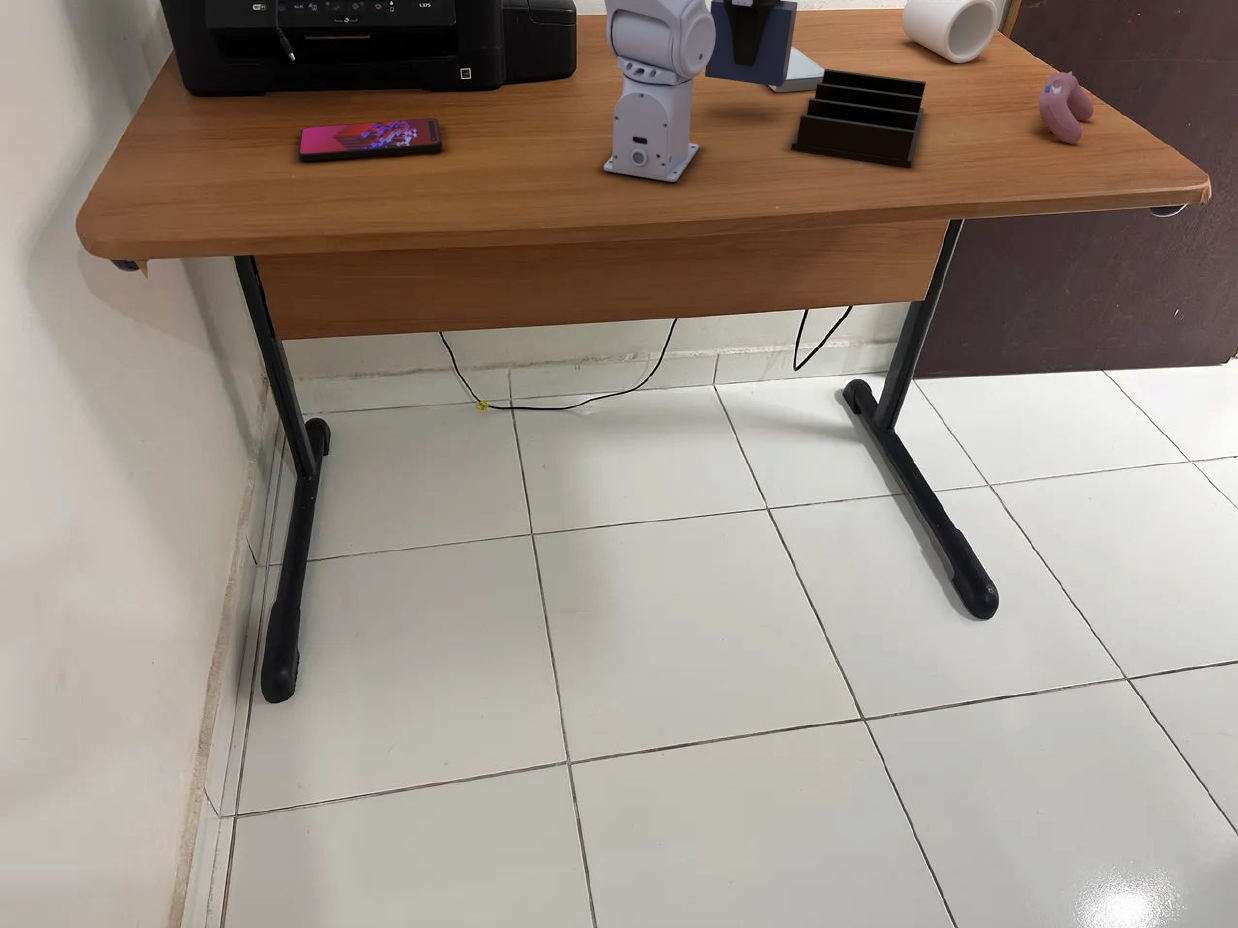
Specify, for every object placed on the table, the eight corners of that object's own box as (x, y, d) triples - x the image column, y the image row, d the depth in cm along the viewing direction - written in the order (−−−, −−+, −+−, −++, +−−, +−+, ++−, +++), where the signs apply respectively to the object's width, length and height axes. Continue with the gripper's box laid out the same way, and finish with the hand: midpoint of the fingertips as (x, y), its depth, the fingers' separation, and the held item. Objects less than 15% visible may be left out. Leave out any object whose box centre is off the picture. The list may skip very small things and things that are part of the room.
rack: (910, 168, 93) (919, 133, 91) (790, 150, 96) (796, 115, 94) (922, 114, 105) (930, 82, 102) (815, 100, 108) (820, 68, 105)
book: (781, 87, 98) (792, 10, 93) (704, 76, 101) (710, 1, 95) (786, 77, 101) (797, 2, 96) (711, 67, 103) (718, -7, 98)
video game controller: (1054, 126, 107) (1045, 68, 104) (1095, 116, 104) (1088, 56, 101) (1038, 153, 101) (1028, 92, 98) (1081, 143, 98) (1073, 81, 95)
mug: (943, 38, 127) (967, -55, 119) (987, 61, 120) (1015, -37, 112) (895, 43, 125) (916, -51, 117) (936, 66, 118) (962, -33, 110)
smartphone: (300, 127, 96) (437, 117, 98) (302, 135, 96) (438, 124, 99) (297, 155, 90) (442, 143, 93) (299, 163, 91) (443, 152, 93)
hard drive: (835, 75, 110) (793, 44, 119) (776, 80, 108) (738, 48, 117) (833, 88, 111) (791, 57, 120) (774, 94, 109) (737, 61, 118)
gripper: (788, -61, 84) (769, 83, 93) (813, -88, 94) (794, 45, 104) (718, -68, 86) (706, 75, 95) (750, -94, 96) (736, 37, 105)
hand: (747, 59), depth 99 cm, fingers closed on book, 3 cm apart
